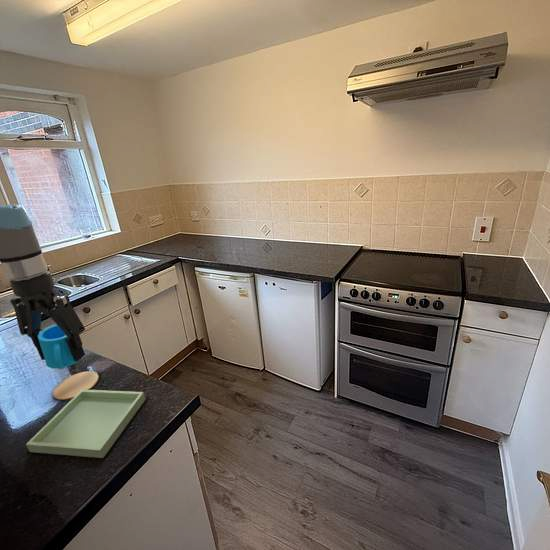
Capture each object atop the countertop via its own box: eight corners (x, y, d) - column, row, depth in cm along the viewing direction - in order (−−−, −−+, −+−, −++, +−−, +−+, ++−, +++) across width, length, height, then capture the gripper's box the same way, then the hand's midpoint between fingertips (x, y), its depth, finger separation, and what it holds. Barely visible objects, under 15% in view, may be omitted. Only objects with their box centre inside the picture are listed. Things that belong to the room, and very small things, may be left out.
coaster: (43, 399, 87) (42, 398, 87) (74, 371, 98) (74, 370, 98) (79, 400, 85) (78, 399, 85) (107, 372, 96) (106, 371, 96)
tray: (29, 452, 70) (25, 444, 69) (84, 396, 86) (81, 389, 85) (103, 458, 67) (99, 450, 66) (146, 398, 83) (143, 391, 82)
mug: (48, 353, 79) (40, 327, 76) (84, 345, 83) (78, 320, 80) (41, 382, 70) (32, 354, 66) (82, 372, 73) (75, 344, 70)
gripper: (83, 268, 69) (111, 349, 77) (6, 269, 73) (40, 347, 81) (56, 280, 62) (89, 368, 70) (-27, 282, 66) (14, 365, 74)
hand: (63, 357), depth 76 cm, fingers open, 9 cm apart
